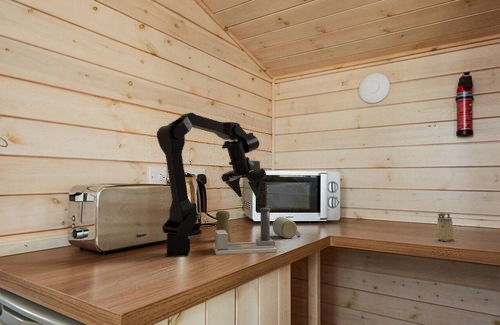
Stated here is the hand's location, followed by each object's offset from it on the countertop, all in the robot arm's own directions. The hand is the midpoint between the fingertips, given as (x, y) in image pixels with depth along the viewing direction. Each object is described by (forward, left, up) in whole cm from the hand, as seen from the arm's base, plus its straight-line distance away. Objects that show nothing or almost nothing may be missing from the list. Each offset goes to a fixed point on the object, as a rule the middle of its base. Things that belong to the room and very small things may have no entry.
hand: (249, 197), depth 124 cm
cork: (-9, +2, -16) cm, 19 cm away
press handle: (+3, -15, -15) cm, 21 cm away
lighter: (+73, -13, -16) cm, 75 cm away
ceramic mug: (+17, +5, -16) cm, 24 cm away
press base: (-4, -15, -16) cm, 22 cm away
